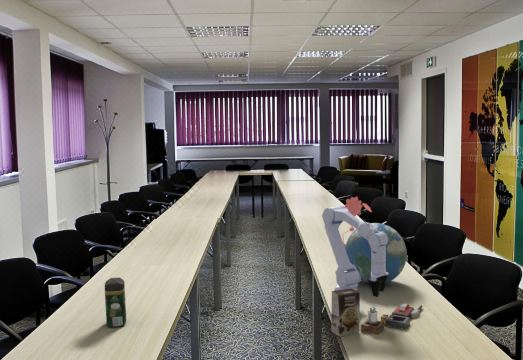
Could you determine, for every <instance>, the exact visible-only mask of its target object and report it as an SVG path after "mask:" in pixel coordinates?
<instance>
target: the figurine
mask: <svg viewBox="0 0 523 360" xmlns="http://www.w3.org/2000/svg"><path fill="white" fill-rule="evenodd" d="M345 202H346V204H345V205H344V207H345V208H347V209H348V211H349V212H350V213H351V214H352V215H353V216H354V217H356V216H358V215H359V214H361V210H362V207H364V208H365V210H366V211H369V212H370V213H372V212H373V210H372V209H371V208H370V206H369V205H368V204H367V203H364V202H362V200H359V197H358V196H355V197H353V196H352V197H350V198H347V199H346V201H345ZM355 230H356V229H355V228H354V227H353V226H349V230H347V231H345V232H342V235H344V234H346V233H348V232H354V231H355ZM342 241H343V244H344V247H345V246H346V243H345V240H344V237H342Z"/></svg>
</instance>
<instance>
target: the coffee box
mask: <svg viewBox="0 0 523 360" xmlns="http://www.w3.org/2000/svg"><path fill="white" fill-rule="evenodd" d="M360 297H361V292H360V291H358V290H357V291H356V290H353V289H351V288H350V289H343V290H336V291H334V290H331V317H330V318H331V320H330V322H331V326H330V327H331V328H330V332H332V333H333V334H334V335H336V336H338V337H346V336H352V335H356V334H360V313H361V312H360V310H361V309H360V306H361V303H360V302H361V301H360V300H361V298H360Z"/></svg>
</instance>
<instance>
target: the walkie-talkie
mask: <svg viewBox="0 0 523 360" xmlns="http://www.w3.org/2000/svg"><path fill="white" fill-rule="evenodd" d="M409 305H410V304H409V303H402V304H401V305H398V306H397V307H396V308H395V309H394V310H393V311H392V312H391V315H397V316H403V317H409V320H410V319H413V318H417V317H418V316H419V315H420V311H421V310H422V308H423V305H422V304H420V305H419V306H418V308H415V307H413V306H409Z"/></svg>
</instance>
